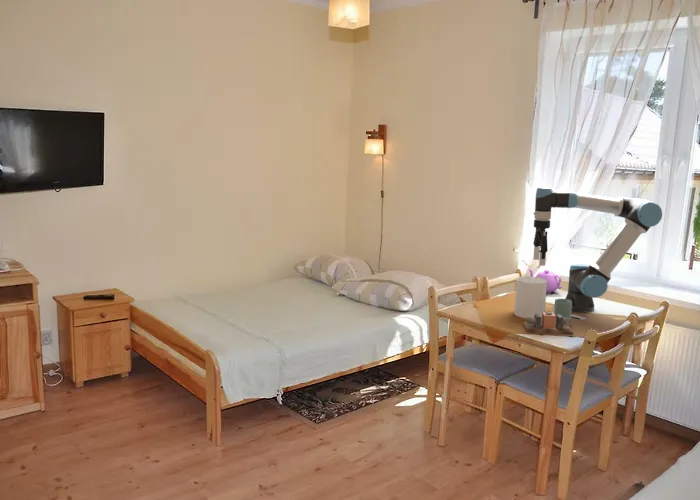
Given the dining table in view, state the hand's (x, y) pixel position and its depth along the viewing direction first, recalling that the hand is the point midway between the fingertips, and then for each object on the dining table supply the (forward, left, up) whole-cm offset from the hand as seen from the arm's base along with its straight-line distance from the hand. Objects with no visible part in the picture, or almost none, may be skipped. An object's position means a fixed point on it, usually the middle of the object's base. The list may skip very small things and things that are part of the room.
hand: (539, 262), depth 300 cm
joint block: (-1, +23, -25) cm, 34 cm away
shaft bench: (-1, +23, -27) cm, 35 cm away
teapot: (-14, -48, -27) cm, 57 cm away
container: (+3, 0, -27) cm, 27 cm away
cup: (-11, +8, -27) cm, 30 cm away
